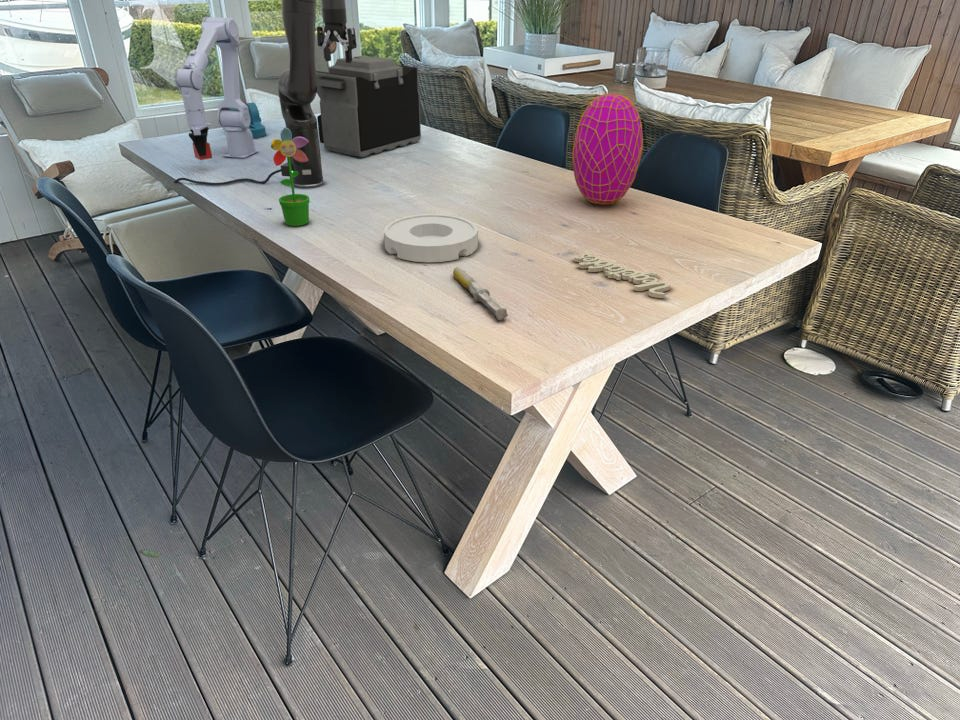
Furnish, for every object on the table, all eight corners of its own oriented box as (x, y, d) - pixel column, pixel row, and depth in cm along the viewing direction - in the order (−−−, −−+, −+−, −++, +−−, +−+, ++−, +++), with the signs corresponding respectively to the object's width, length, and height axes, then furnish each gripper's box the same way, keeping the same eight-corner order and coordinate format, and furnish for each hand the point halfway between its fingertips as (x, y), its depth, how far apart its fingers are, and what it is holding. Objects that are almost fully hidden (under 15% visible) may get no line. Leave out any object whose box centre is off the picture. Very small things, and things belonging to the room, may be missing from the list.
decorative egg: (611, 217, 189) (624, 103, 174) (555, 202, 201) (562, 94, 185) (647, 202, 202) (662, 94, 186) (592, 188, 213) (602, 86, 198)
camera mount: (228, 130, 277) (223, 103, 272) (254, 127, 282) (250, 100, 277) (243, 139, 265) (238, 110, 259) (269, 136, 270) (266, 108, 264)
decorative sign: (686, 282, 150) (660, 295, 144) (686, 286, 150) (659, 300, 144) (592, 249, 166) (565, 259, 160) (592, 253, 167) (565, 263, 161)
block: (207, 155, 227) (204, 140, 225) (212, 158, 224) (209, 143, 222) (195, 157, 225) (192, 142, 222) (200, 160, 222) (197, 145, 220)
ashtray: (391, 227, 181) (390, 212, 179) (479, 229, 180) (479, 214, 178) (377, 261, 161) (376, 245, 159) (476, 263, 160) (476, 247, 158)
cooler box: (383, 133, 276) (378, 52, 261) (425, 141, 265) (422, 56, 250) (314, 150, 251) (304, 61, 235) (358, 160, 240) (350, 67, 224)
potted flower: (284, 229, 179) (270, 130, 166) (277, 220, 185) (263, 124, 172) (319, 224, 183) (308, 127, 170) (311, 215, 188) (300, 121, 176)
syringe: (449, 274, 155) (449, 263, 153) (465, 272, 156) (464, 260, 154) (490, 323, 135) (491, 310, 133) (508, 319, 136) (508, 307, 134)
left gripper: (207, 113, 212) (215, 157, 219) (208, 104, 224) (216, 147, 231) (182, 114, 210) (191, 159, 217) (185, 105, 222) (194, 148, 229)
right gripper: (358, 7, 219) (362, 62, 227) (323, 5, 225) (328, 59, 233) (344, 8, 213) (348, 64, 222) (308, 6, 219) (314, 61, 227)
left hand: (203, 153), depth 224 cm, fingers closed on block, 5 cm apart
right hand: (338, 61), depth 227 cm, fingers open, 8 cm apart
